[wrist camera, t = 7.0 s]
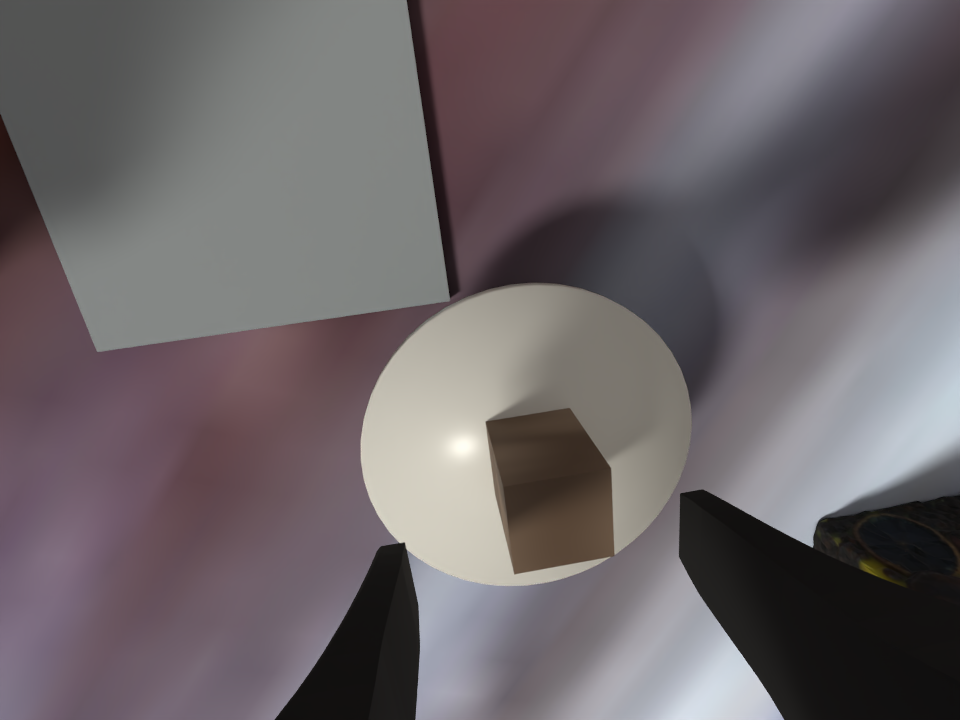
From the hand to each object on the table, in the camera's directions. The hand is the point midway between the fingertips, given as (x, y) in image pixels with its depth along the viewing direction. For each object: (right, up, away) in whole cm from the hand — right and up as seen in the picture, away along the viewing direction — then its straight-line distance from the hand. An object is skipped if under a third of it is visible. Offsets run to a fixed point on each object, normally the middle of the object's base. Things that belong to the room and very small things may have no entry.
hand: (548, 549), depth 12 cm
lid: (0, +2, +6) cm, 6 cm away
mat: (-11, +13, +5) cm, 18 cm away
